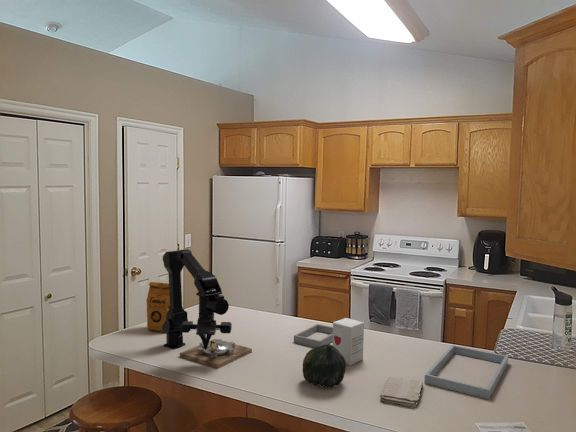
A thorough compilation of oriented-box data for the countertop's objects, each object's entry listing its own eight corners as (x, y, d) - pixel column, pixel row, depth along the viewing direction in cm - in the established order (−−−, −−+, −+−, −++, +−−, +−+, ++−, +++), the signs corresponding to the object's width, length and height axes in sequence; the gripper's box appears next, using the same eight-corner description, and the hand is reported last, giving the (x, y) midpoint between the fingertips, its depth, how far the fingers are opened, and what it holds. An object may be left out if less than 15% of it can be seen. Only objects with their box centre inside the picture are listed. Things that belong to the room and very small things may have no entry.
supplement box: (331, 359, 186) (331, 321, 184) (344, 353, 192) (345, 317, 191) (350, 366, 179) (351, 327, 178) (363, 359, 186) (364, 322, 185)
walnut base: (179, 356, 186) (179, 352, 186) (214, 342, 203) (214, 338, 203) (218, 368, 175) (218, 364, 175) (251, 352, 192) (251, 348, 192)
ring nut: (194, 359, 180) (194, 341, 179) (201, 343, 197) (201, 327, 196) (231, 359, 180) (231, 342, 179) (236, 344, 197) (236, 327, 196)
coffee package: (166, 334, 212) (166, 286, 210) (143, 331, 216) (143, 283, 215) (179, 328, 221) (179, 281, 220) (157, 325, 226) (156, 279, 224)
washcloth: (378, 403, 151) (379, 394, 151) (388, 381, 168) (388, 372, 167) (417, 410, 147) (417, 401, 146) (423, 386, 163) (423, 378, 163)
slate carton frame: (424, 383, 165) (424, 374, 165) (452, 352, 195) (452, 344, 195) (489, 399, 154) (489, 390, 153) (507, 363, 184) (508, 356, 183)
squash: (302, 356, 174) (304, 335, 163) (343, 359, 173) (348, 338, 163) (301, 394, 164) (302, 375, 153) (344, 397, 164) (349, 378, 153)
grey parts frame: (293, 342, 204) (293, 335, 204) (317, 330, 221) (317, 323, 221) (320, 348, 197) (320, 341, 197) (342, 335, 214) (342, 329, 213)
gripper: (177, 314, 171) (176, 356, 172) (229, 315, 171) (228, 357, 172) (183, 306, 182) (182, 346, 183) (232, 307, 182) (231, 347, 184)
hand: (205, 349), depth 180 cm, fingers closed
